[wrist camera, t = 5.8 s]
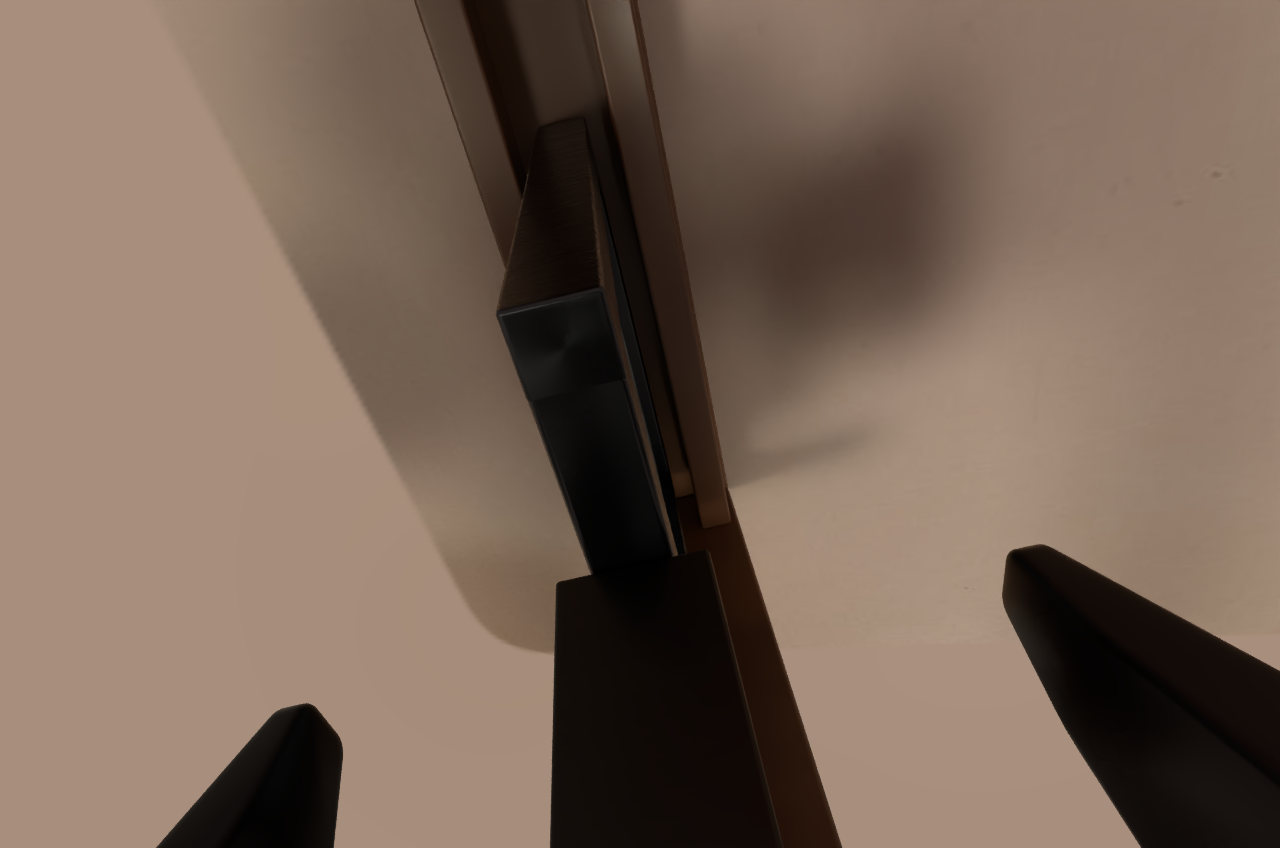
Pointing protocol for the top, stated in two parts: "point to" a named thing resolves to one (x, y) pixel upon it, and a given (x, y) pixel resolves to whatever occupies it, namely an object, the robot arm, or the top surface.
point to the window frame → (629, 293)
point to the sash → (622, 550)
